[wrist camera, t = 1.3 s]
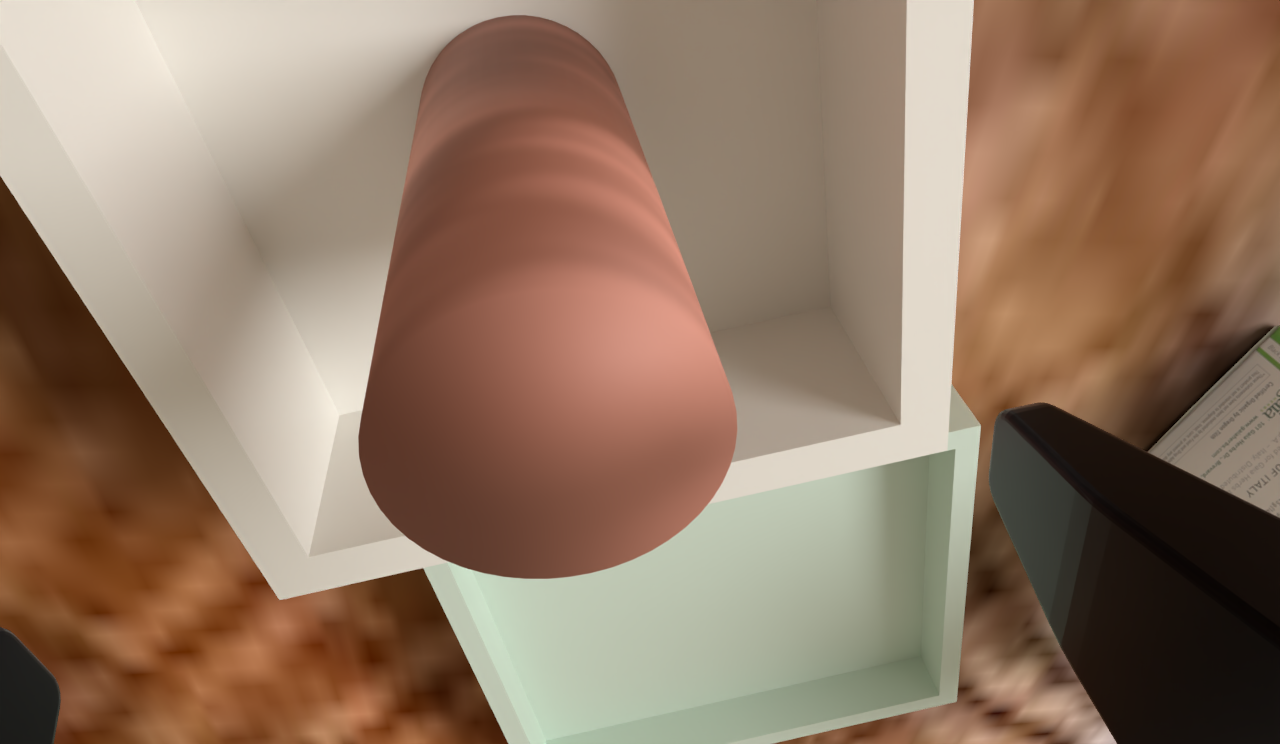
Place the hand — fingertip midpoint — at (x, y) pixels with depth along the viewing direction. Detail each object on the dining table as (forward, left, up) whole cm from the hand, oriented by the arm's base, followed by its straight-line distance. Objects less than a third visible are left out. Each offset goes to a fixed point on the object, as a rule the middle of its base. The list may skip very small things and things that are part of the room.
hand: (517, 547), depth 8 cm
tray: (-2, +15, -12) cm, 20 cm away
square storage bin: (0, 0, -12) cm, 12 cm away
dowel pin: (0, 0, -12) cm, 12 cm away
